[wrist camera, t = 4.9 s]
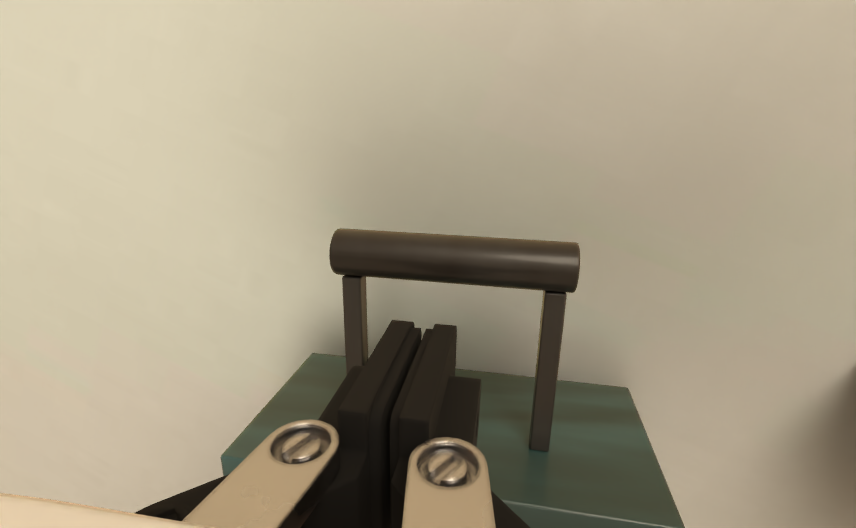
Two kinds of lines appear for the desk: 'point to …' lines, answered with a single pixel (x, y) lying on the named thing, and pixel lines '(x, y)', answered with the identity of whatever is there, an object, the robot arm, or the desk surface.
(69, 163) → the desk surface
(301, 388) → the drawer
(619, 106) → the desk surface
